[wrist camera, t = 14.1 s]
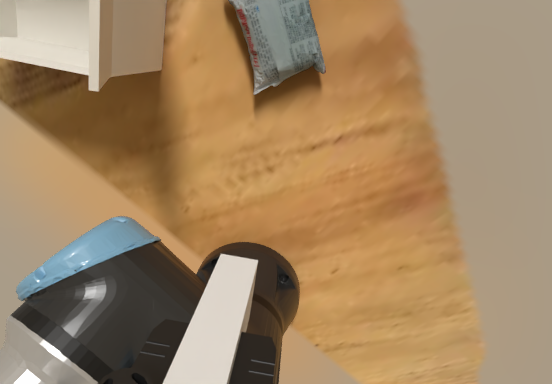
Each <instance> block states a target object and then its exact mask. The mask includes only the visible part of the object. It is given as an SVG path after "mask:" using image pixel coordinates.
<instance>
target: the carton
mask: <svg viewBox="0 0 552 384" xmlns="http://www.w3.org/2000/svg"><path fill="white" fill-rule="evenodd" d="M166 3H167V0H113V37H112V75H111V77H114V76H122V75H130V74H137V73H145V72H152V71H160V70H162V59H163V45H164V31H165V17H166ZM0 58H4V59H9V60H14V61H19V62H24V63H29V64H34V65H39V66H44V67H49V68H54V69H59V70H64V71H69V72H74V73H79V74H84V75H89V0H0Z"/></svg>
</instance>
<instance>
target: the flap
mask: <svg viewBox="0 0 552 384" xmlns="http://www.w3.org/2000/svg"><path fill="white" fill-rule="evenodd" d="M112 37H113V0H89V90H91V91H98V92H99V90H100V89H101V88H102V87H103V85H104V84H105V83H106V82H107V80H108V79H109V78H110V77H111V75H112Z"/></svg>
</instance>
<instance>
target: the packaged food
mask: <svg viewBox="0 0 552 384" xmlns="http://www.w3.org/2000/svg"><path fill="white" fill-rule="evenodd" d="M228 1H229V2H230V4H232V5H233V6H234V8H235V10H236V14H237V18H238V19H239V22H240V25H241V28H242V31H243V35H244V38H245V40H246V43H247V45H248V51H249V53H250V60H251V64H252V68H253V71H254V95H255V94H257V93H259V92H260V91H262V90H263V89H266V88H267V87H269V86H270V85H273V86H274V87H276V86H278V85H279V84H280V83H281V82H282V81H284V80H286V79H287V78H289V77H291V76H293V75H295V74H297V73H299V72H301V71H303V70H306V69H309V68H310V67H311V66H313V67H314V69H315V70H317V71H318V72H321V73H322V74H324V73H325V72H326V71H325V64H324V60H323V56H322V52H321V48H320V44H319V39H318V35H317V32H316V29H315V24H314V21H313V18H312V14H311V9H310V5H309V0H228Z"/></svg>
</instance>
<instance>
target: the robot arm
mask: <svg viewBox="0 0 552 384" xmlns="http://www.w3.org/2000/svg"><path fill="white" fill-rule="evenodd" d="M16 292H17V294H18V299H19V300H21V301H23V300H25V302H24V303H23V304H22V305H21V306H20V307H19V308H18V309H17V310H16V311H15V312H14V313H12V314H11V315H10V316H9V317H8V318H7V323H6V336H5V342H4V345H3V348H2V349H1V350H0V384H278V382H279V371H280V359H281V347H282V336H283V334H284V333H285V331H286V330H287V328H288V326H289V325H290V323H291V322H292V320H293V319H294V317H295V315H296V312H297V309H298V305H299V293H300V289H299V282H298V278H297V275H296V273H295V271H294V269H293V268H292V266H291V265H290V263H289V262H288V261H287V260H286V259H285V258H284V257H283V256H281V255H280V254H279V253H277V252H276V251H274V250H272V249H270V248H268V247H266V246H263V245H260V244H256V243H249V242H238V243H232V244H228V245H225V246H222V247H220V248H218V249H216V250H215V251H213V252H212V253H211V254H209V255H208V256H207V257H206V259H205V260H204V261H203V263H202V264H201V266H200V268H199V270H198V272H197V274H195V273H194V272H193V271H191V270H190V269H189V268H188V267H187V266H186V265H185V264H184V263H183V262H182V261H181V260H180V259H178V258H177V257H176V256H175V255H174V254H173V253H172V252H171V251H170V250H169V249H168V248H167V247H166V246H165V245H164V244H163V243H162V242H161V239H160V238H159V237H156V236H154V235H152V234H151V233H150V232H149V231H147V230H146V229H145V228H144V227H142V226H141V225H140V224H139V223H138V222H136V221H135V220H134V219H132V218H129V217H125V216H118V217H114V218H111V219H109V220H107V221H105V222H103V223H101V224H100V225H98V226H96V227H95V228H93V229H92V230H90V231H88V232H87V233H85V234H84V235H82V236H81V237H79V238H78V239H76V240H75V241H73V242H72V243H71V244H69V245H68V246H66V247H65V248H63V249H62V250H61V251H59V252H58V253H57V254H55V255H54V256H52V257H51V258H50V259H49V260H47V261H46V262H45V263H44V264H43V265H42V266H41V267H39V268H38V269H36V270H35V271H34V272H32V273H31V274H30V275H28V276H27V277H26V278H25V279H24V280H22V282H20V283H19V285H18V286H17V290H16Z"/></svg>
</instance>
